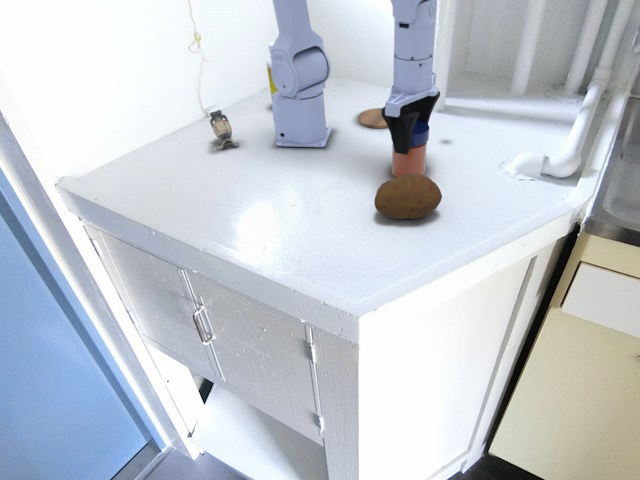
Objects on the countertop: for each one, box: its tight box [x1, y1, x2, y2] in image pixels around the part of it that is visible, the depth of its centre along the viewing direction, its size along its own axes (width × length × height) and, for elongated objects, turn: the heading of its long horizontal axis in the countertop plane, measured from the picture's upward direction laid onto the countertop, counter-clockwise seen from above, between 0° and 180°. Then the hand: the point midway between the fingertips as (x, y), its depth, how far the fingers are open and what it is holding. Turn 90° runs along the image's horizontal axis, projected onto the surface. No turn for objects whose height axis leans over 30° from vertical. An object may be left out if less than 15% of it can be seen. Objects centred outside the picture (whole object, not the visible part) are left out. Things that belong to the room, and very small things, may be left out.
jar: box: [391, 141, 428, 178], centre depth 78 cm, size 6×6×7 cm
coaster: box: [357, 107, 389, 129], centre depth 96 cm, size 9×9×1 cm
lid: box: [390, 120, 430, 147], centre depth 75 cm, size 6×6×2 cm
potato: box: [373, 174, 443, 220], centre depth 68 cm, size 7×10×6 cm
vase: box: [209, 109, 241, 152], centre depth 89 cm, size 5×5×6 cm
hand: (409, 144), depth 77 cm, fingers closed on lid, 6 cm apart
